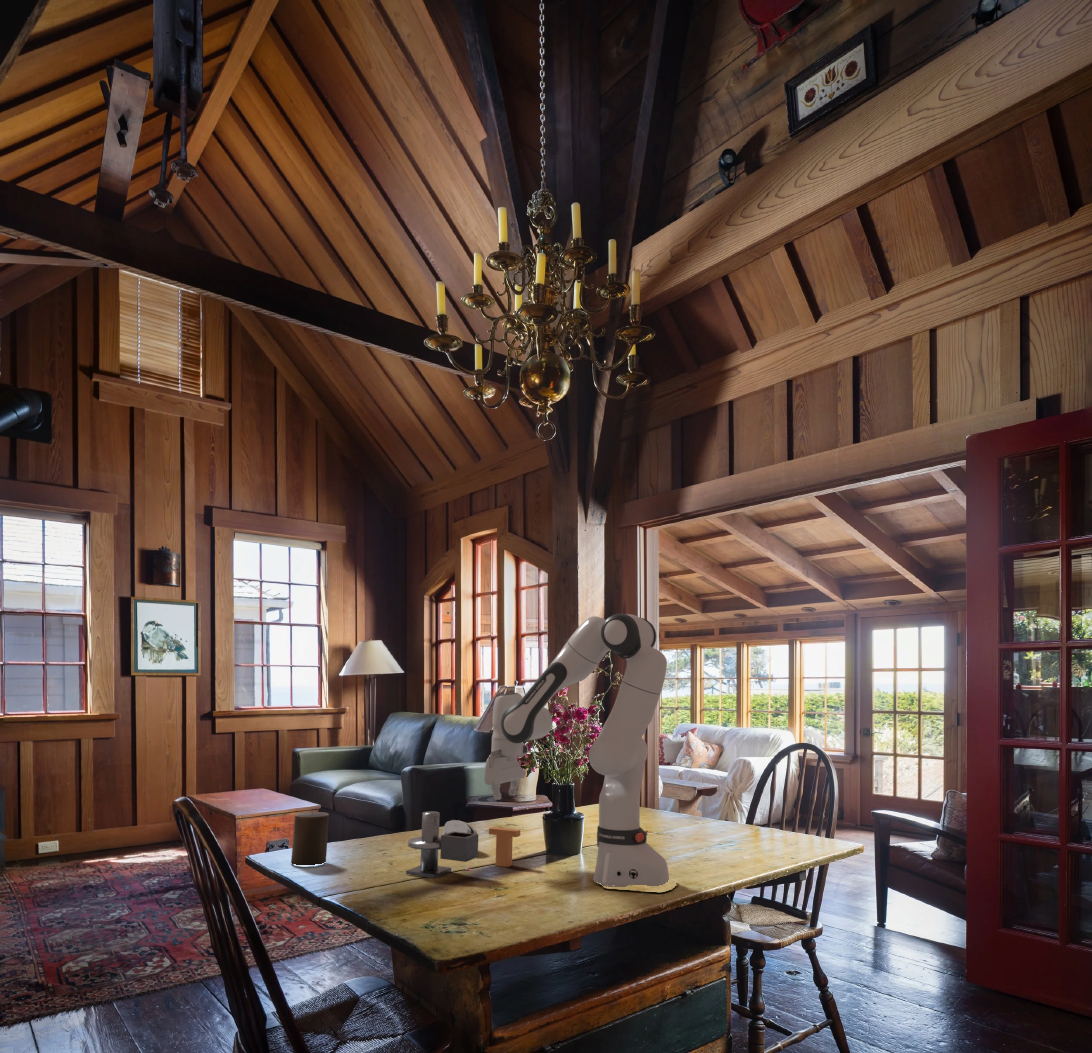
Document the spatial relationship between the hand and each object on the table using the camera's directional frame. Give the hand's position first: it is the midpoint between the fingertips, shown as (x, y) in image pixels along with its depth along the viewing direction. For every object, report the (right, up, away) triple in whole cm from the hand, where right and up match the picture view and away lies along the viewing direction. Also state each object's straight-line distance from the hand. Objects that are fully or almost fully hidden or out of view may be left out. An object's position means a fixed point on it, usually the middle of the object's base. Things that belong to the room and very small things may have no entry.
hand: (504, 797), depth 244 cm
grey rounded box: (-16, -22, +15) cm, 31 cm away
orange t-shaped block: (0, -19, -3) cm, 19 cm away
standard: (-17, -16, -15) cm, 28 cm away
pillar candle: (-56, -18, -5) cm, 59 cm away
